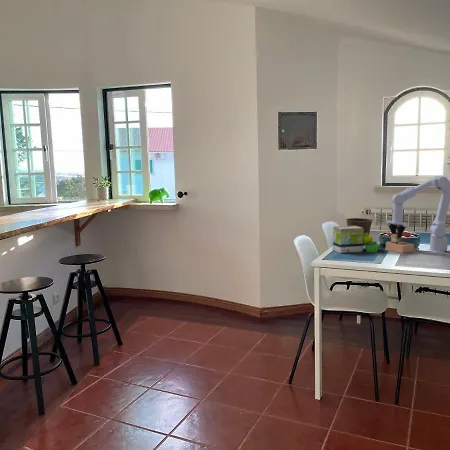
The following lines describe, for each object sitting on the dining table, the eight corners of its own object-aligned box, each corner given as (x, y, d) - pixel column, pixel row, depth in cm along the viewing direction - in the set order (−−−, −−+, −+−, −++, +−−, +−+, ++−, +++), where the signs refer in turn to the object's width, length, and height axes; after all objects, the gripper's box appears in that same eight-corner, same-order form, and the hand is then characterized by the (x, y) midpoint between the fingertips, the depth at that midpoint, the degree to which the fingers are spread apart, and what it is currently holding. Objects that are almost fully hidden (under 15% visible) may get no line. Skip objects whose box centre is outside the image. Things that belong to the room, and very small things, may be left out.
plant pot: (368, 242, 306) (369, 217, 303) (374, 246, 290) (375, 221, 287) (343, 241, 307) (344, 217, 305) (347, 246, 291) (348, 221, 289)
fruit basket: (379, 253, 269) (379, 234, 268) (363, 253, 271) (363, 234, 270) (376, 249, 280) (377, 231, 279) (361, 249, 282) (362, 231, 281)
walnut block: (402, 249, 274) (403, 243, 273) (408, 251, 270) (408, 244, 269) (397, 250, 272) (397, 243, 271) (402, 251, 268) (403, 244, 268)
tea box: (340, 253, 271) (341, 228, 269) (332, 250, 281) (332, 226, 278) (363, 251, 275) (364, 227, 273) (354, 248, 285) (355, 225, 282)
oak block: (396, 240, 278) (396, 233, 277) (401, 241, 274) (401, 234, 274) (391, 240, 276) (391, 234, 275) (396, 241, 272) (396, 235, 272)
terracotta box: (397, 248, 281) (397, 240, 281) (413, 252, 270) (414, 244, 269) (385, 249, 278) (385, 242, 277) (402, 253, 266) (402, 245, 265)
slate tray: (398, 248, 283) (398, 247, 283) (420, 253, 268) (421, 252, 268) (383, 250, 278) (383, 249, 278) (405, 255, 263) (405, 254, 263)
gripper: (383, 213, 278) (382, 236, 280) (401, 216, 265) (400, 239, 267) (392, 213, 281) (391, 235, 283) (410, 215, 268) (409, 238, 270)
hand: (396, 237), depth 275 cm, fingers closed on oak block, 4 cm apart
